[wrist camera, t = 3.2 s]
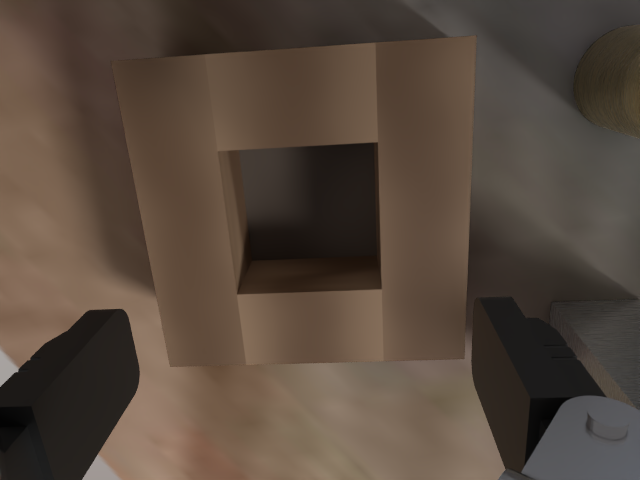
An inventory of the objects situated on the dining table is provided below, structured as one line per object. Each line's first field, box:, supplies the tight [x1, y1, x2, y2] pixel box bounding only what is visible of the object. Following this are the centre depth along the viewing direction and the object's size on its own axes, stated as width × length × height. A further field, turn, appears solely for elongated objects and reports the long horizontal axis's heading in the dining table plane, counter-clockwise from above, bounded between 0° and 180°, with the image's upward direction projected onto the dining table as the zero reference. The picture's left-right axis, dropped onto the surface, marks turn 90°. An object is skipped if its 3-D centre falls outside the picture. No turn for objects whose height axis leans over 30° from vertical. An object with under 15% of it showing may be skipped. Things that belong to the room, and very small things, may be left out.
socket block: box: [111, 36, 477, 367], centre depth 21 cm, size 12×12×4 cm
